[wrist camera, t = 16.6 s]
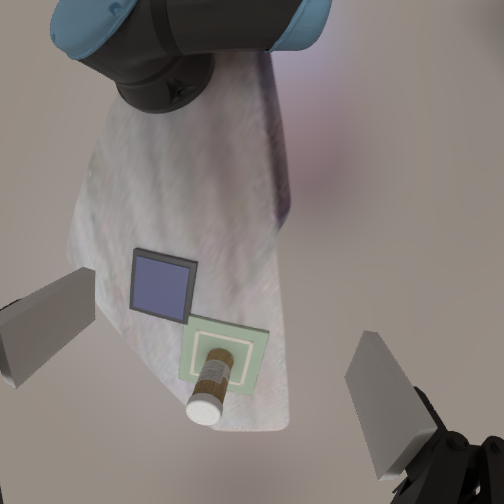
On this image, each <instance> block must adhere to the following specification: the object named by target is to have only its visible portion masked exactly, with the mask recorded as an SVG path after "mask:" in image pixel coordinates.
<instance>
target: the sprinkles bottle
mask: <svg viewBox="0 0 504 504" xmlns="http://www.w3.org/2000/svg"><path fill="white" fill-rule="evenodd" d="M233 364H234V361H233V357H232V356H231V354H230V353H228V352H227V351H225V350H222V349H214V350H212V351H210V352H209V353H208V354H207V357H206V362H205V364H204V365H203V368H202V370H201V373H200V375H199V378H198V380H197V382H196V385H195V389H194V391H193V394H192V396H191V397H190V398H189V400H188V403H187V406H186V413H187V415H188V417H189V418H190V419H191V420H193V421H194V422H196V423H198V424H202V425H213V424H215V423H217V422H218V421H219V420H220V418H221V415H222V411H223V401H224V397H225V394H226V391H227V387H228V383H229V379H230V375H231V369H232V367H233Z"/></svg>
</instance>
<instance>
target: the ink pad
mask: <svg viewBox="0 0 504 504" xmlns="http://www.w3.org/2000/svg"><path fill="white" fill-rule="evenodd" d="M197 264H198V262H195V261H190V260H186V259H182V258H177V257H173V256H169V255H164V254H160V253H156V252H151V251H147V250H143V249H139V248H135V249H134V251H133V261H132V274H131V288H130V308H129V309H132V310H135V311H139V312H142V313H146V314H149V315H153V316H156V317H160V318H163V319H167V320H171V321H174V322H178V323H182V324H186V325H188V319H189V315H190V311H191V304H192V297H193V290H194V284H195V277H196V271H197Z"/></svg>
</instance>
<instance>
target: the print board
mask: <svg viewBox="0 0 504 504" xmlns="http://www.w3.org/2000/svg"><path fill="white" fill-rule="evenodd" d="M268 336H269V331H265V330H260V329H255V328H250V327H245V326H240V325H236V324H231V323H227V322H222V321H218V320H214V319H209V318H205V317H201V316H197V315H193V314H190V315H189V319H188V325H186V324H185V325H184V333H183V342H182V351H181V360H180V370H179V379H181V380H185V381H188V382H192V383H196V382H197V380H198V378H199V375H200V373H201V370H202V368H203V365H204V364H205V362H206V357H207V354H208V353H209V352H210V351H212V350H214V349H222V350H225V351H227V352H228V353H230V354H231V356H232V357H233V361H234V364H233V367H232V369H231V375H230V379H229V383H228V387H227V391H231V392H236V393H241V394H246V395H251V396H252V393H253V390H254V386H255V383H256V379H257V376H258V372H259V369H260V365H261V362H262V358H263V355H264V351H265V347H266V344H267V340H268Z"/></svg>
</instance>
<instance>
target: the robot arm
mask: <svg viewBox="0 0 504 504" xmlns="http://www.w3.org/2000/svg"><path fill="white" fill-rule="evenodd" d="M331 4H332V0H60V1H59V2H58V4H57V6H56V8H55V11H54V13H53V15H52V19H51V23H50V36H51V39H52V42H53V43H54V44H55V46H56V47H57V48H59V49H60V50H62V51H63V52H65V53H66V54H67V55H68V57H69V58H71V59H73V60H77V61H79V62H81V63H83V64H85V65H87V66H89V67H90V68H92V69H94V70H96V71H98V72H99V73H101V74H103V75H105V76H106V77H108V78H110V79H112V80H113V81H114V82H115V83H116V86H117V89H118V91H119V93H120V95H121V97H122V98H123V99H124V100H125V101H126V102H127V103H128V104H130V105H131V106H133V107H135V108H137V109H138V110H141V111H143V112H147V113H156V114H157V113H166V112H170V111H174V110H176V109H179V108H181V107H183V106H185V105H186V104H188V103H190V102H191V101H192V100H194V99H195V98H196V97H197V96H198V95H199V94H200V93H201V92H202V91H203V90H204V88H205V87H206V85H207V84H208V82H209V80H210V78H211V76H212V73H213V70H214V62H215V61H214V53H219V52H238V51H263V52H264V53H270V52H273V51H299V50H304V49H306V48H308V47H310V46H311V45H313V44H314V43H315V42H316V41H317V39H318V38H319V37H320V35H321V33H322V31H323V29H324V26H325V24H326V21H327V18H328V15H329V12H330V8H331ZM94 320H95V270H92V269H88V268H85V267H82V268H80V269H78V270H76V271H74V272H72V273H71V274H68V275H67V276H64V277H62V278H61V279H59V280H57V281H55V282H53V283H51V284H49V285H47V286H45V287H43V288H41V289H40V290H38V291H36V292H34V293H32V294H30V295H28V296H26V297H25V298H22V299H19V300H16V301H14V302H12V303H10V304H9V306H8V305H7V306H5V307H3V308H2V309H0V370H1V373H2V377H3V380H4V381H5V382H6V383H8V384H9V385H11V386H12V387H14V388H15V389H17V388H18V387H19V386H20V385H21V384H23V383H24V382H25V381H26V380H27V379H28V378H29V377H30V376H31V375H32V374H33V373H34V372H36V371H37V370H38V369H39V368H40V367H41V366H42V365H43V364H45V363H46V362H47V361H48V360H49V359H50V358H51V357H52V356H54V355H55V354H56V353H57V352H58V351H59V350H60V349H62V348H63V347H64V346H65V345H66V344H67V343H68V342H70V341H71V340H72V339H73V338H74V337H75V336H77V335H78V334H79V333H80V332H81V331H82V330H83V329H85V328H86V327H87V326H88V325H89V324H91V323H92V322H93V321H94ZM345 379H346V383H347V385H348V388H349V391H350V394H351V397H352V400H353V403H354V406H355V409H356V412H357V415H358V418H359V421H360V424H361V427H362V430H363V433H364V436H365V439H366V442H367V446H368V449H369V452H370V455H371V458H372V462H373V465H374V468H375V471H376V475H377V478H378V480H379V481H380V480H389V479H396V478H397V477H398V476H399V475H400V474H401V473H402V472H403V470H404V469H405V470H406V473H407V475H408V476H407V477H406V478H405V479H404V480H403V482H402V483H401V484H400V485H399V486H398V487H397V488H396V489H395V490H394V491H393V492H392V493H395V492H396V491H397V490H398V491H397V493H396V495H395V496H394V498H393V500H392V502H391V503H390V504H504V440H503V439H502V438H500V437H497V436H489V437H488V438H486V440H485V441H484V442H483V444H482V445H481V446H479V445H470V444H469V442H468V440H467V439H466V438H465V437H464V436H463V435H462V434H460V433H458V432H454V431H448V430H447V429H446V427H445V425H444V424H443V422H442V421H441V419H440V417H439V416H438V414H437V413H436V411H435V410H434V408H433V406H432V404H430V401H429V400H428V398H427V397H426V395H425V394H424V393H423V392H422V391H421V390H420V389H419V388H417V387H413V386H412V384H411V383H410V381H409V380H408V378H407V377H406V375H405V373H404V372H403V370H402V369H401V367H400V365H399V364H398V362H397V361H396V360H395V358H394V357H393V355H392V354H391V352H390V350H389V349H388V347H387V346H386V344H385V343H384V341H383V340H382V338H381V337H380V335H379V334H378V333H377V332H370V331H364V332H363V334H362V337H361V339H360V342H359V345H358V347H357V349H356V352H355V354H354V356H353V359H352V361H351V363H350V366H349V368H348V370H347V373H346V375H345ZM479 486H480V492H479V493H478V494H477V495H476V489H477V488H478V487H479ZM0 504H3V499H2V493H1V488H0Z"/></svg>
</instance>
